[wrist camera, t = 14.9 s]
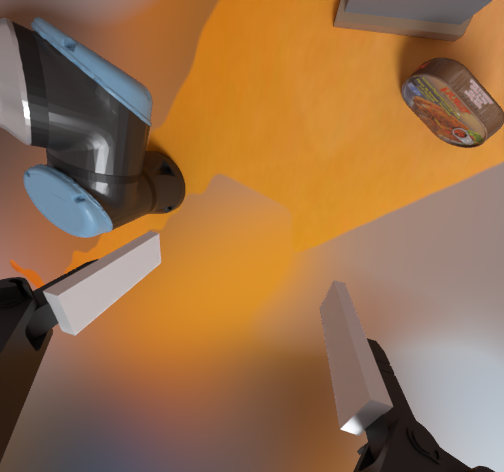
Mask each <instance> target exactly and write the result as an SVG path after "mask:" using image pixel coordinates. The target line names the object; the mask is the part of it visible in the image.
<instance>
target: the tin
mask: <svg viewBox="0 0 504 472" xmlns="http://www.w3.org/2000/svg"><path fill="white" fill-rule="evenodd" d="M401 91H402V97H403V99H404V101H405V103H406V104H407V105H408V106H409V108H410V109H411V110H412V111H413V112H414V113H415V114H416V115H417V116H418V117H419V118H420V119H421V120H422V121H423V122H424V123H425V124H426V126H427V127H428V128H429V129H430V130H431V131H432V132H433V133H434V134H435V135H436V136H437V137H438V138H440V139H441V140H443V141H444V142H446V143H449V144H451V145H454V146H458V147H464V148H472V147H477V146H480V145H482V144H483V143H484V142H485V141H486V140H487V139H488V138H489V137H491V136H492V135H493V134H494V133H496V132H497V131H498V130H499V129H500V128H501V127H502V125H503V124H504V112H503V110H502V108H501V107H500V106H499V105H498V104H497V102H496V101H495V100H494V99H493V98H492V97H491V95H490V94H489V93H488V92H487V91H486V89H485V88H484V87H483V86H482V85H481V84H480V83H479V81H478V80H477V79H476V78H475V77H474V76H473V75H472V74H471V72H470V71H469V70H468V69H467V68H466V67H465V66H464V65H462V64H461V63H459V62H458V61H455V60H452V59H448V58H435V59H432V60H429V61H427V62H425V63H423V64H422V65H421V66H420V67H418V68H417V69H416V71H415V72H414V73H413V74H412V75H411V76H410V77H409V78H407V79H406V80H405V81H404V83H403V85H402V90H401Z"/></svg>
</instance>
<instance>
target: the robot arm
mask: <svg viewBox="0 0 504 472" xmlns="http://www.w3.org/2000/svg"><path fill="white" fill-rule="evenodd" d="M31 25H32V29H34V30H35V31H31V30H29V29H27V28H25V27H23V26H21V25H18V24H17V23H15V22H13V21H11V20H8V19H6V18H3V19H0V127H2V128H4V129H6V130H7V131H8V132H10V133H11V134H13V135H14V136H15V137H16V138H18V139H19V140H20V141H22V142H23V143H24V144H26V145H32V146H38V147H43V148H46V153H47V165H42V164H39V165H35V166H34V167H30V168H29V169H28V170H27V171H25V173H24V177H23V178H24V185H25V188H26V191H27V193H28V195H29V197H30V198H31V200H32V201H33V203H34V204H35V206H36V207H37V208H38V210H39V211H40V212H41V213H42V214H43V215H44V216H45V217H46V218H47V219H48V220H49V221H50V222H52V223H53V224H54V225H56V226H57V227H59V228H60V229H62V230H63V231H65V232H67V233H69V234H72V235H74V236H78V237H93V236H96V235H99V234H102V233H104V232H110V231H111V230H113V229H115V228H117V227H120V226H122V225H124V224H126V223H128V222H131V221H133V220H135V219H137V218H139V217H142V216H144V215H146V214H164V213H168V212H171V211H173V210H175V209H176V208H178V207H179V206H180V205H181V203H182V202H183V200H184V196H185V183H184V179H183V176H182V174H181V172H180V170H179V168H178V167H177V166H176V164H175V163H174V162H173V161H172V160H171V159H170V158H168V157H167V156H165V155H163V154H161V153H159V152H153V151H146V147H147V141H148V136H149V130H150V126H151V112H152V104H153V103H152V97H151V94H150V92H149V91H148V89H147V88H146V87H145V86H144V85H143V84H142V83H140V82H138V81H137V80H136V79H134V78H133V77H131V76H130V75H128V74H127V73H125V72H124V71H122V70H121V69H119V68H118V67H116V66H114V65H113V64H111V63H110V62H108V61H107V60H105V59H103V58H102V57H101V56H99V55H98V54H96V53H94V52H93V51H91V50H90V49H88V48H87V47H85V46H84V45H82V44H81V43H79V42H78V41H76V40H74V39H73V38H71V37H70V36H68V35H67V34H65V33H63V32H62V31H60V30H59V29H57V28H56V27H54V26H53V25H51V24H49V23H48V22H46V21H45V20H43V19H41V18H39V17H37V18H35V19H34V22H32V23H31ZM160 263H161V255H160V242H159V233H155V232H151V231H149V232H147V233H146V234H144V235H142V236H140V237H138V238H137V239H135V240H133V241H131V242H130V243H128V244H126V245H124V246H122V247H121V248H119V249H117V250H115V251H113V252H112V253H110V254H108V255H106V256H104V257H103V258H101V259H99V260H98V259H96V260H93V261H90V262H87V263H85V264H83V265H81V266H79V267H77V268H76V269H73V270H72V271H70V272H68V274H64V275H62V276H60V277H59V278H57V279H55V280H53V281H51V282H49V283H48V284H46V285H44V286H42V287H40V288H38V289H36V290H35V291H32V289H31V287H30V285H29V283H28V282H27V280H26V279H25V278H21V277H16V278H7V279H2V280H0V462H1V460H2V457H3V455H4V452H5V450H6V447H7V445H8V443H9V440H10V438H11V435H12V433H13V430H14V427H15V425H16V423H17V420H18V418H19V415H20V413H21V410H22V408H23V405H24V403H25V401H26V398H27V396H28V393H29V391H30V388H31V386H32V383H33V381H34V378H35V376H36V373H37V371H38V369H39V366H40V363H41V361H42V359H43V356H44V354H45V351H46V349H47V346H48V344H49V341H50V339H51V336H52V334H53V329H52V328H53V327H54V326H55V325H56V324H59V326H60V328H61V330H62V331H64V332H66V333H69V334H72V335H76V334H77V333H79V332H80V331H81V330H82V329H83V328H85V327H86V326H87V325H88V324H89V323H91V322H92V321H93V320H94V319H95V318H96V317H98V316H99V315H100V314H101V313H102V312H104V311H105V310H106V309H107V308H108V307H109V306H111V305H112V304H113V303H114V302H115V301H117V300H118V299H119V298H120V297H121V296H122V295H123V294H125V293H126V292H127V291H128V290H129V289H131V288H132V287H133V286H134V285H135V284H137V283H138V282H139V281H140V280H141V279H142V278H144V277H145V276H146V275H147V274H148V273H150V272H151V271H152V270H153V269H154V268H155V267H156V266H158V265H159V264H160ZM320 312H321V318H322V324H323V330H324V336H325V342H326V348H327V354H328V360H329V366H330V372H331V378H332V384H333V389H334V395H335V401H336V407H337V413H338V419H339V425H340V429H341V430H344V431H347V432H350V433H353V434H355V435H360V434H361V433H362V432H363V431H366V435H367V439H368V443H367V444H365V445H364V446H362V447H361V448H360V449H359V450H358V451H357V452H358V453H359V455H360V454H361V453H362V454H361V456H360V458H359V460H358V462H357V465H356V467H355V469H354V471H353V472H495V471H493V470H491V469H489V468H487V467H484V466H477V467H475V468H472V469H471V468H470V467H468V466H467V465H465V464H464V463H462V462H461V461H459V460H458V459H456V458H455V457H453V456H452V455H450V454H449V453H447V452H446V451H444V450H443V449H442V448H440V447H439V445H438V444H437V442H436V441H435V439H434V437H433V436H432V435H431V434H430V433H429V432H428V431H427V429H426V428H425V427H424V426H422V425H421V424H420V423H419V422H417V421H416V419H415V417H414V415H413V414H412V411H411V409H410V407H409V405H408V402H407V400H406V398H405V396H404V394H403V391H402V389H401V387H400V385H399V383H398V381H397V378H396V376H394V372H393V370H392V367H391V366H390V363H389V361H388V358H387V356H386V354H385V352H384V351H383V349H382V348H381V347H380V345H379V344H378V343H377V342H376V341H374V340H371V339H367V338H366V336H365V333H364V331H363V328H362V325H361V323H360V320H359V318H358V315H357V313H356V310H355V308H354V305H353V302H352V300H351V297H350V295H349V292H348V290H347V287H346V284H345V283H342V282H338V281H333V283H332V285H331V287H330V289H329V291H328V293H327V295H326V297H325V299H324V301H323V303H322V305H321V307H320Z"/></svg>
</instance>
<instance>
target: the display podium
mask: <svg viewBox="0 0 504 472" xmlns="http://www.w3.org/2000/svg"><path fill="white" fill-rule="evenodd" d="M491 1H492V0H340V3H339V7H338V11H337V14H336V18H335V22H334V26H333V27H340V28H349V29H357V30H365V31H374V32H382V33H390V34H398V35H407V36H415V37H423V38H432V39H440V40H448V41H456V40H457V39H459V38H460V37H462V36H463V35H464V33H465V31H466V29H467V27H468V25H469V23H470V21H471V19H472V17H473V15H474V14H475V13H477V12H478V11H479V10H481V9H482V8H483V7H485V6H486V5H487V4H489V3H490V2H491Z"/></svg>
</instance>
